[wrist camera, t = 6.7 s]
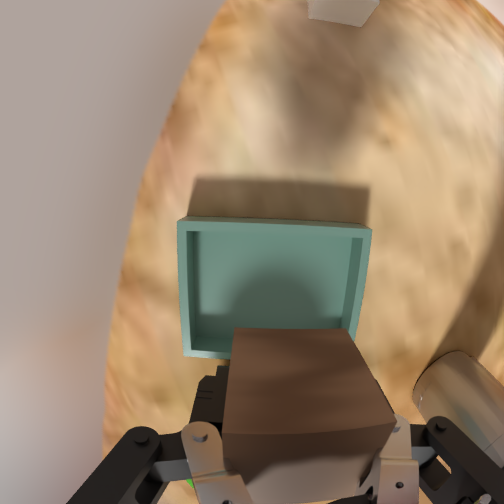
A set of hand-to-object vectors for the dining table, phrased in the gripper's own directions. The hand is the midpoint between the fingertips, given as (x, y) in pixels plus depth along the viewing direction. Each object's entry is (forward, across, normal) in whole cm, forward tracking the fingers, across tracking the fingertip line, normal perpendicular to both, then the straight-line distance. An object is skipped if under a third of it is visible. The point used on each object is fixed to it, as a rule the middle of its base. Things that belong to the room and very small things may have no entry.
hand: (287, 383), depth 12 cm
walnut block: (+1, 0, 0) cm, 1 cm away
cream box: (+13, -5, -27) cm, 30 cm away
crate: (+13, 0, 0) cm, 13 cm away
